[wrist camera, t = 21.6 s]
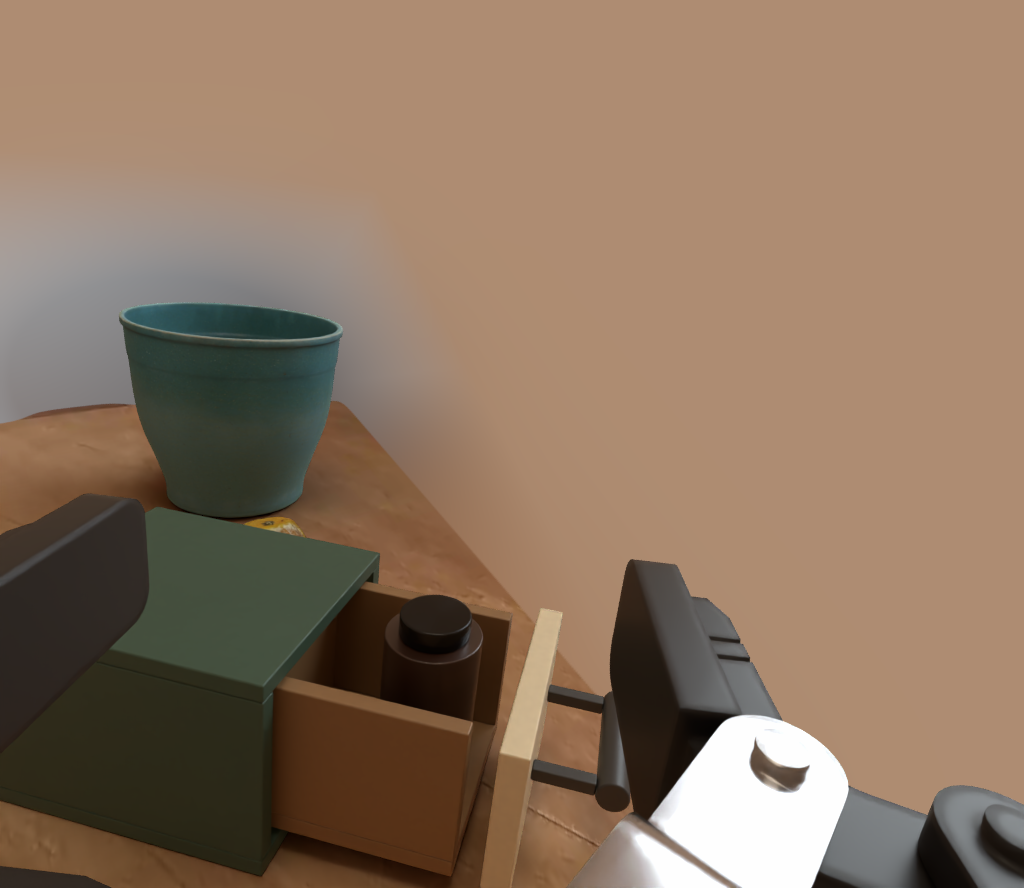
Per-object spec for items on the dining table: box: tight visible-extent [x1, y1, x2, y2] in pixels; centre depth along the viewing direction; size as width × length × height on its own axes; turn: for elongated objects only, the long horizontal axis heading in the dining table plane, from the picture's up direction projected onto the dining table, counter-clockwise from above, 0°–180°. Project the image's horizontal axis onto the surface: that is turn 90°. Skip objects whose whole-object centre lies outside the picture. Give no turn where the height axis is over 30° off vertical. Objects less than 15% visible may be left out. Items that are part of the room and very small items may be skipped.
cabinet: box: [0, 507, 380, 876], centre depth 32 cm, size 14×12×10 cm
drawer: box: [271, 581, 630, 888], centre depth 30 cm, size 17×10×8 cm, turn 79°
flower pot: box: [119, 303, 343, 517], centre depth 60 cm, size 18×18×17 cm
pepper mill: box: [380, 595, 483, 722], centre depth 30 cm, size 4×4×8 cm
